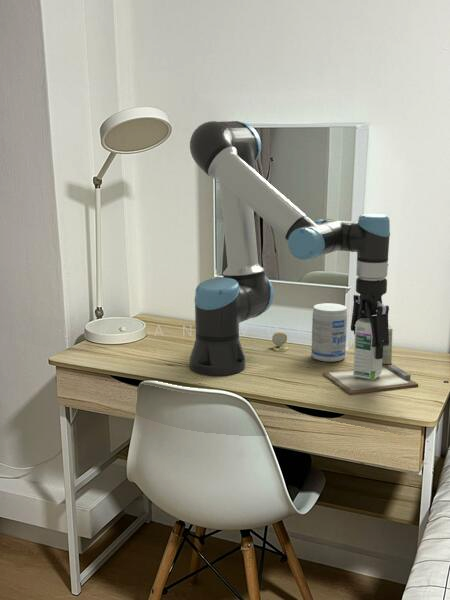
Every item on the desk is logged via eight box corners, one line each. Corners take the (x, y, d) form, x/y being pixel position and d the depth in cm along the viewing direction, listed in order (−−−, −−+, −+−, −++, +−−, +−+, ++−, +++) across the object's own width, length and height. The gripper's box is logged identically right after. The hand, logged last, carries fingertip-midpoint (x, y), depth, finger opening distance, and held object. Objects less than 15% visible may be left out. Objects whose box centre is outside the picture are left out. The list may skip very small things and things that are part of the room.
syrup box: (352, 376, 178) (354, 321, 174) (360, 369, 183) (363, 316, 179) (374, 380, 175) (376, 324, 172) (382, 373, 180) (384, 319, 176)
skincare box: (388, 359, 195) (390, 324, 193) (391, 364, 191) (393, 329, 189) (369, 359, 196) (371, 324, 193) (372, 364, 191) (374, 329, 189)
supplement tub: (338, 365, 191) (340, 313, 187) (305, 359, 195) (307, 308, 192) (350, 355, 199) (352, 305, 196) (319, 350, 204) (320, 301, 200)
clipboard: (323, 374, 184) (323, 368, 183) (387, 367, 189) (387, 360, 189) (349, 394, 170) (349, 387, 169) (418, 386, 175) (418, 379, 175)
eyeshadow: (274, 352, 202) (275, 335, 201) (271, 347, 207) (271, 331, 206) (289, 351, 202) (290, 335, 201) (286, 346, 207) (286, 330, 206)
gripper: (407, 285, 164) (402, 376, 170) (365, 268, 184) (361, 351, 189) (379, 287, 162) (374, 380, 168) (339, 270, 181) (336, 354, 187)
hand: (367, 364), depth 178 cm, fingers closed on syrup box, 8 cm apart
